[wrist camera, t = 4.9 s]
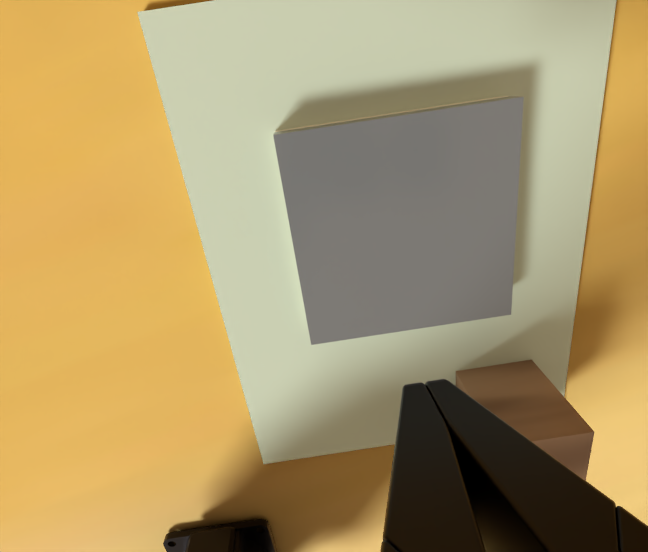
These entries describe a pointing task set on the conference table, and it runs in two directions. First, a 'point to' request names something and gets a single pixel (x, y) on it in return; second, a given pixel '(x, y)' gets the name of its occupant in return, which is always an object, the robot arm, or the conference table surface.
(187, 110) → the mat
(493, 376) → the block
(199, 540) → the robot arm
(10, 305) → the conference table surface
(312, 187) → the tile
